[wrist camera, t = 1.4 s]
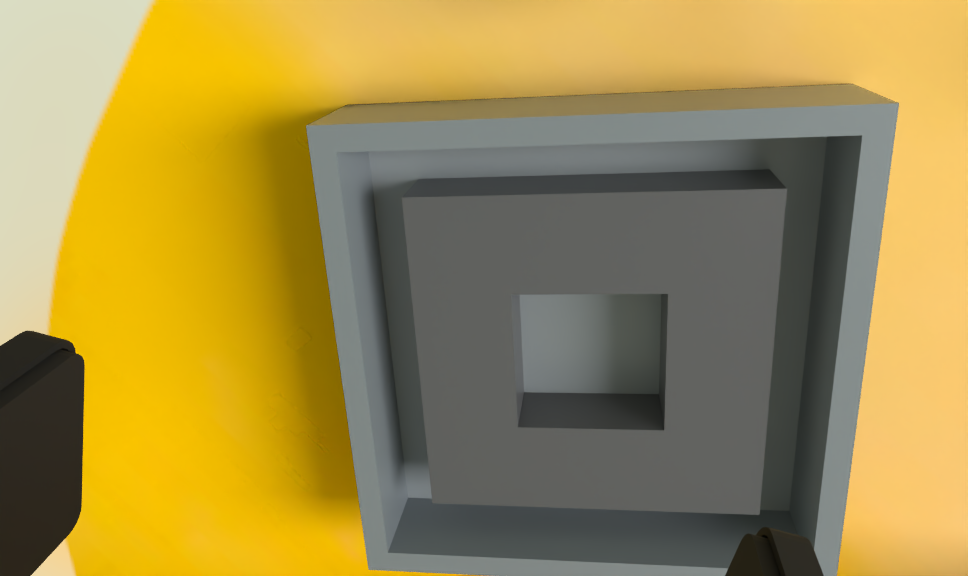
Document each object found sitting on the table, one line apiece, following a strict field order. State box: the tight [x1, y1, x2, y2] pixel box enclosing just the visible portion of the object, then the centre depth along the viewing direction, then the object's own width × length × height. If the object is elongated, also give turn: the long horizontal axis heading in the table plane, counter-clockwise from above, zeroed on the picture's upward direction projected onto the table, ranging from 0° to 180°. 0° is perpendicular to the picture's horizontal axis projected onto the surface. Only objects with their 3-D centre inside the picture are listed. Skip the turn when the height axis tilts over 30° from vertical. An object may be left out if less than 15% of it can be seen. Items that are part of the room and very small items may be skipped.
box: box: [306, 84, 899, 576], centre depth 32 cm, size 20×20×5 cm
